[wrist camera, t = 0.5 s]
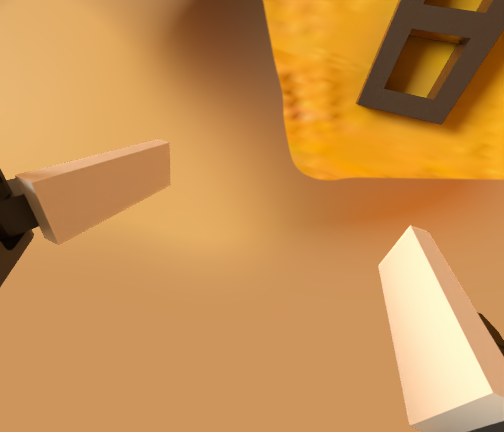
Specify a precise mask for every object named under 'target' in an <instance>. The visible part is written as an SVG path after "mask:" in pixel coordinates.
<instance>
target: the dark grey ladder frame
mask: <svg viewBox="0 0 504 432" xmlns="http://www.w3.org/2000/svg"><path fill="white" fill-rule="evenodd" d="M424 1H425V0H399V1H398V4H397V6H396V8H395V11H394V13H393V16H392V18H391V20H390V23H389V25H388V28H387V30H386V32H385V35H384V37H383V40H382V42H381V44H380V47H379V49H378V51H377V54H376V56H375V59H374V61H373V63H372V66H371V68H370V71H369V73H368V75H367V78H366V80H365V83H364V85H363V87H362V90H361V92H360V94H359V97H358V99H357V102H356V104H358V105H362V106H367V107H371V108H375V109H379V110H383V111H387V112H391V113H395V114H400V115H404V116H408V117H412V118H416V119H420V120H424V121H429V122H433V123H437V124H442V123H443V121H444V120H445V118H446V117H447V115H448V114H449V112H450V111H451V109H452V108H453V106H454V105H455V103H456V102H457V100H458V98H459V97H460V95H461V94H462V92H463V91H464V89H465V88H466V86H467V85H468V83H469V82H470V80H471V79H472V77H473V76H474V74H475V72H476V71H477V69H478V68H479V66H480V65H481V63H482V62H483V60H484V59H485V57H486V56H487V54H488V53H489V51H490V50H491V48H492V46H493V45H494V43H495V42H496V40H497V39H498V37H499V36H500V34H501V33H502V31H503V30H504V0H483V1H482V2H481V4H480V6H479V8H478V9H477V11H476V12H475V11H468V10H461V9H454V8H446V7H439V6H432V5H425V4H424ZM408 36H414V37H420V38H425V39H431V40H437V41H443V42H449V43H455V44H457V46H456V47H455V49H454V51H453V53H452V54H451V56H450V58H449V60H448V61H447V63H446V65H445V66H444V68H443V70H442V72H441V73H440V75H439V77H438V79H437V80H436V82H435V84H434V85H433V87H432V89H431V91H430V92H429V94H428V96H427V98H424V97H419V96H415V95H410V94H406V93H401V92H397V91H392V90H388V89H384V87H385V85H386V83H387V80H388V78H389V76H390V74H391V72H392V70H393V68H394V66H395V63H396V61H397V59H398V57H399V55H400V53H401V51H402V48H403V46H404V44H405V42H406V40H407V38H408Z"/></svg>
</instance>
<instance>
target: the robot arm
mask: <svg viewBox="0 0 504 432" xmlns="http://www.w3.org/2000/svg"><path fill="white" fill-rule="evenodd" d="M15 177H16V178H15V179H10V180H6V179H5V177H4V175H3V173H2V171H1V169H0V287H1V285H2V283H3V282H4V281H5V279H6V278H7V276H8V275H9V273H10V272H11V270H12V269H13V267H14V266H15V264H16V263H17V261H18V260H19V258H20V257H21V255H22V253H23V252H24V250H25V249H26V248H27V246H28V245H29V243H30V242H31V240H32V239H33V236H34V233H33V232H32V230H31V229H33V228H36V227H38V226H39V227H40V228H41V231H42V233H43V235H44V237H45V238H46V239H48V240H50V241H52V242H54V243H56V244H58V245H60V244H62V243H63V242H65V241H67V240H69V239H71V238H73V237H74V236H76V235H78V234H80V233H82V232H84V231H85V230H88V229H89V228H91V227H93V226H95V225H97V224H99V223H100V222H102V221H104V220H106V219H108V218H110V217H112V216H114V215H116V214H117V213H119V212H121V211H123V210H125V209H127V208H128V207H130V206H132V205H134V204H136V203H138V202H140V201H142V200H143V199H145V198H147V197H149V196H151V195H153V194H155V193H156V192H158V191H160V190H162V189H164V188H166V187H167V186H169V185H170V155H169V143H168V142H166V141H163V140H160V139H156V140H152V141H148V142H144V143H140V144H136V145H132V146H128V147H124V148H120V149H116V150H112V151H108V152H105V153H101V154H97V155H93V156H89V157H85V158H81V159H77V160H73V161H69V162H65V163H61V164H58V165H54V166H49V167H46V168H42V169H38V170H34V171H30V172H26V173H22V174H18V175H15ZM378 267H379V272H380V276H381V282H382V287H383V292H384V297H385V302H386V308H387V313H388V318H389V323H390V328H391V333H392V338H393V343H394V349H395V354H396V359H397V363H398V368H399V374H400V379H401V384H402V390H403V394H404V400H405V405H406V410H407V415H408V420H409V425H410V426H411V427H413V428H415V429H417V430H419V431H421V432H504V340H503V339H502V337H501V336H500V334H499V332H498V331H497V330H496V329H495V328H494V327H493V326H492V325H491V324H490V322H489V321H488V320H487V319H486V318H485V317H484V316H483V315H482V314H480V313H478V312H476V310H475V308H474V307H473V305H472V303H471V301H470V300H469V298H468V296H467V295H466V293H465V292H464V290H463V288H462V286H461V285H460V283H459V281H458V280H457V278H456V276H455V275H454V273H453V271H452V270H451V268H450V267H449V265H448V263H447V262H446V260H445V258H444V257H443V255H442V253H441V252H440V250H439V248H438V247H437V245H436V243H435V242H434V240H433V238H432V237H431V235H430V233H429V232H428V231H426V230H423V229H420V228H417V227H414V226H411V225H410V226H409V228H408V229H407V230H406V231H405V233H404V234H403V235H402V237H401V238H400V239H399V240H398V241H397V243H396V244H395V245H394V247H393V248H392V249H391V250H390V252H389V253H388V254H387V255H386V257H385V258H384V259H383V261H382V262H381V263H380V264H379V266H378Z"/></svg>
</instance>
